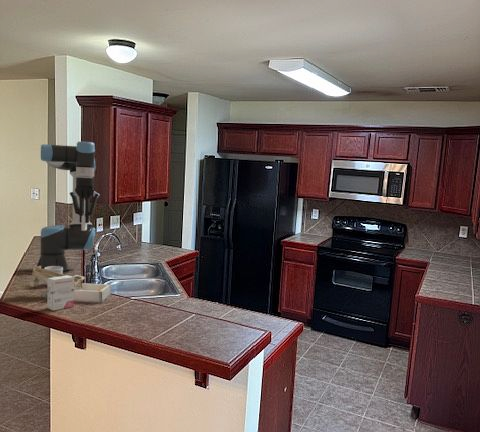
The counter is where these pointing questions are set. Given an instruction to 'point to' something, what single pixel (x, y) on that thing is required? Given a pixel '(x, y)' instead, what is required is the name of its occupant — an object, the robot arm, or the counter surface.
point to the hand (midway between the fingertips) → (84, 230)
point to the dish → (92, 293)
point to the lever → (49, 276)
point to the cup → (54, 270)
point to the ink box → (60, 292)
